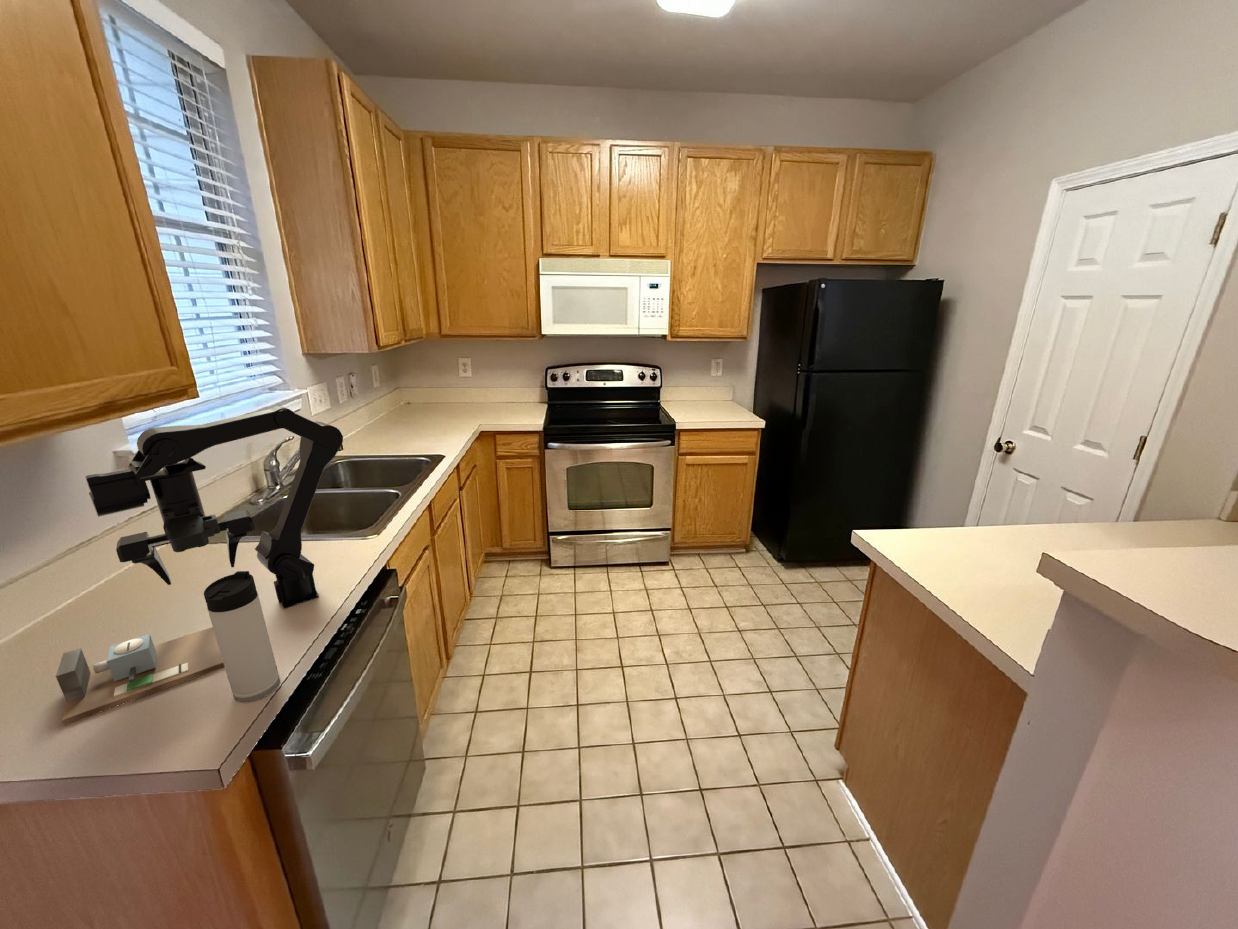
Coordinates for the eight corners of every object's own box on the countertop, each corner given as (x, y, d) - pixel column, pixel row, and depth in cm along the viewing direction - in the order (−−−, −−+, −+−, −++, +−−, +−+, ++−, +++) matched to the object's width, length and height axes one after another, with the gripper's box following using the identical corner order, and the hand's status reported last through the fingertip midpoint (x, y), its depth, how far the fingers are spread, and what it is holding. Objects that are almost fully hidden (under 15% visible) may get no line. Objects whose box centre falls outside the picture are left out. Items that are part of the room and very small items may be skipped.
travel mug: (289, 673, 84) (264, 569, 78) (264, 703, 78) (234, 592, 72) (252, 674, 84) (223, 570, 78) (224, 704, 77) (190, 593, 71)
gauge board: (237, 623, 97) (230, 597, 96) (244, 660, 87) (236, 631, 85) (77, 675, 84) (65, 645, 82) (64, 725, 74) (50, 692, 72)
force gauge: (156, 652, 87) (149, 631, 86) (154, 679, 81) (146, 657, 80) (100, 671, 83) (92, 649, 82) (94, 700, 76) (85, 677, 75)
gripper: (101, 527, 76) (132, 614, 81) (248, 496, 88) (268, 573, 93) (106, 507, 84) (134, 587, 89) (240, 481, 96) (259, 553, 100)
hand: (202, 575), depth 92 cm, fingers open, 9 cm apart
